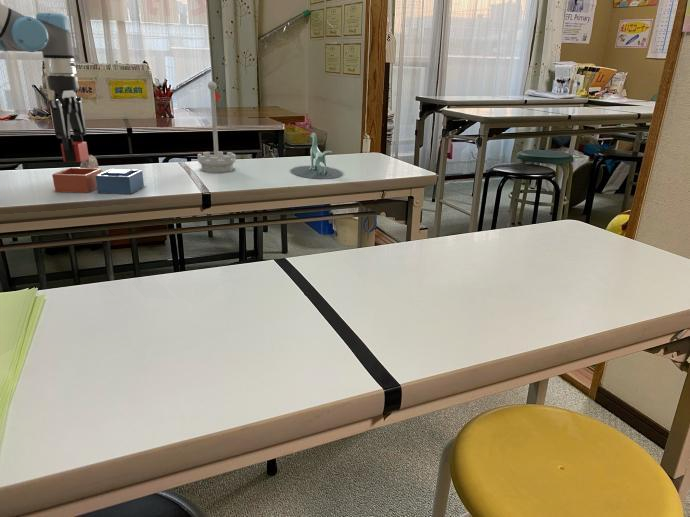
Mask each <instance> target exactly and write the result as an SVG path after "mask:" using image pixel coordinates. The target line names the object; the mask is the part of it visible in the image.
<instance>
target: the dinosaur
mask: <svg viewBox="0 0 690 517" xmlns="http://www.w3.org/2000/svg"><path fill="white" fill-rule="evenodd" d="M310 138H312V145H311V147H310V150H309V151H310V161H311V162H310V163H311V164H310V165H303V166H295V167H294V168H291V170H290V171H291V173H292V174H293V175H295V176H298V177H302V178H307V179H317V180H329V179H336V178H339V177H341V176H342V175H343V172H342V171H340V170H339V169H337V168H333V167H328V166H327V160H326V156H327V155H328V154H330V153H331V154H332V153H334V152H333V151H332V150H324V151H323V152H322V151H320V149H319V147H318V146H319V145H318V136H317V134H316V133H315V132H311V133H310ZM314 160H315V162H314ZM321 163H322V164H323V165H324V166H322V165H321Z"/></svg>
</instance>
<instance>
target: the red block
mask: <svg viewBox="0 0 690 517" xmlns="http://www.w3.org/2000/svg"><path fill="white" fill-rule="evenodd" d="M87 143H88V142H87V141H83V142H73V145H74V151H75V157H76V161H75V162H74V161H65V155H64V149H63V144H62V143H60V149H61V154H62V160H63V162H64V163H66V162H69V163H70V162H71V163H81V162H82V161H84V160H87V159H89V155H90V154H89V150H88V144H87Z"/></svg>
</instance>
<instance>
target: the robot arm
mask: <svg viewBox="0 0 690 517" xmlns="http://www.w3.org/2000/svg"><path fill="white" fill-rule="evenodd" d="M0 51H1V52H2V51H3V52H28V53H36V52H41V54H42V58H43V62H44V63H43V64H44V70H45V74H47V77H46V81H47V86H48V89H49V90H50V91H53V92H54V94H53V99H49V100H48V105H49V107H50V110H51V115H52V116H51V117H52V122H53V128H54V134H55V137H56V138H57V139H61V144H63V149H64V155H65V161H74V162H73V163H76V162H75V161H76V157H75V151H74V145H73V142H84V137H83V136H86V135H87V126H86V119H85V115H84V109H83V98H82V97H81V96H77V93H76V91H78V90H79V89H80V85H79V79H78V77H77V68H76V66H77V63H76V61H75V56H74V48H73V40H72V32H71V28H70V24H69V19H68V17H67V15H65V14H62V13H52V12H38V13H36V14H35V18H34V17H32V16H28V15H24V14H22V13H21V12H18V11H16V10H14V9H13V8H10V7H8V6H6V5H5V4H3V3H1V2H0ZM71 130H72V133H73V134H71Z"/></svg>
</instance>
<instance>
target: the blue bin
mask: <svg viewBox="0 0 690 517" xmlns="http://www.w3.org/2000/svg"><path fill="white" fill-rule="evenodd" d="M115 169H116V168H110V169H107V170H105V171H104V172H103V173H101V174H98V175H96V183H97V189H96V190H97V193H98V194H114V195H115V194H117V195H132V194H134V193H136V192H138V191H139V190H141V189H142V188H144V187H145V183H144V174H143V169H131V170H132V175H130V176H108V172H110V171H112V170H115ZM121 169H122V168H121ZM122 170H124V169H122Z"/></svg>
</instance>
